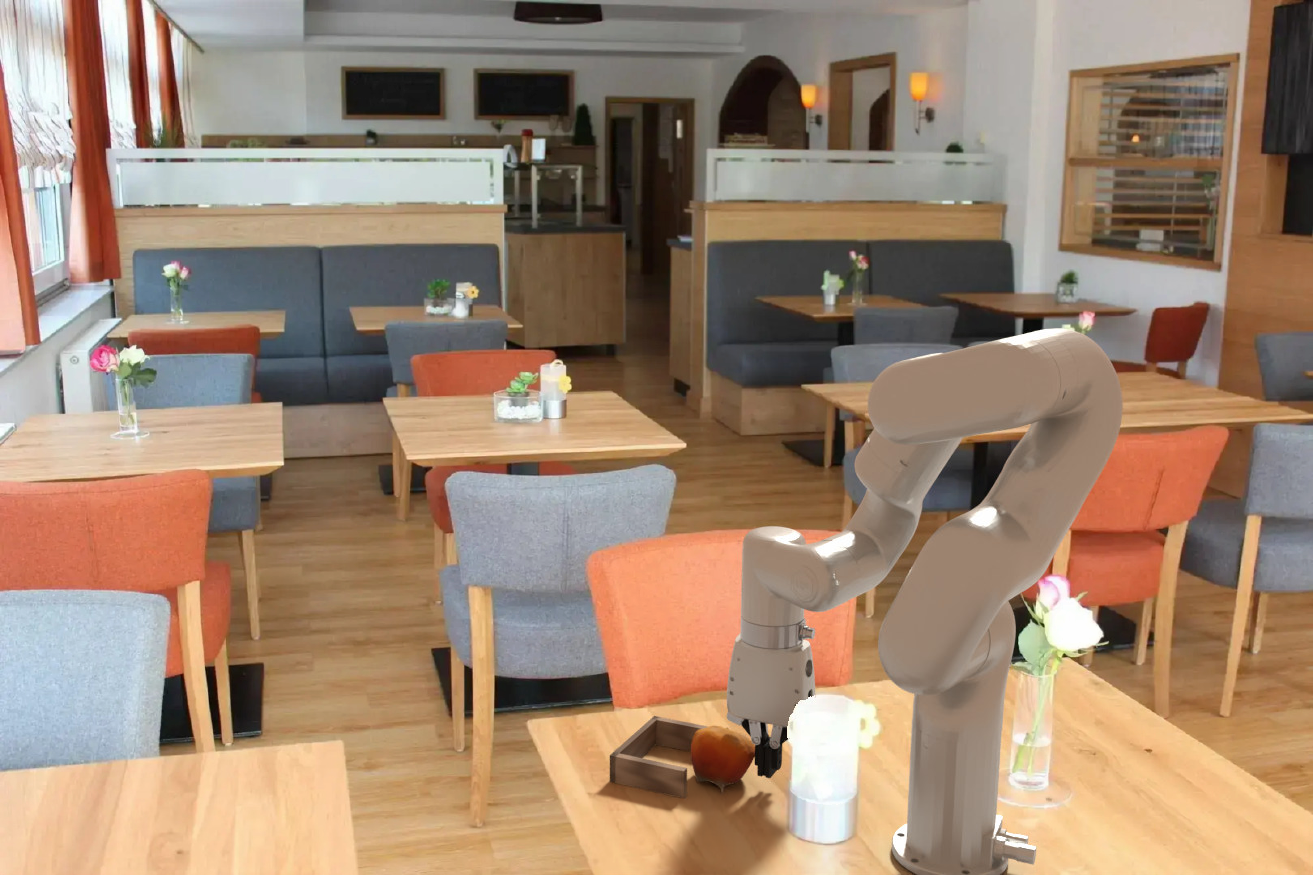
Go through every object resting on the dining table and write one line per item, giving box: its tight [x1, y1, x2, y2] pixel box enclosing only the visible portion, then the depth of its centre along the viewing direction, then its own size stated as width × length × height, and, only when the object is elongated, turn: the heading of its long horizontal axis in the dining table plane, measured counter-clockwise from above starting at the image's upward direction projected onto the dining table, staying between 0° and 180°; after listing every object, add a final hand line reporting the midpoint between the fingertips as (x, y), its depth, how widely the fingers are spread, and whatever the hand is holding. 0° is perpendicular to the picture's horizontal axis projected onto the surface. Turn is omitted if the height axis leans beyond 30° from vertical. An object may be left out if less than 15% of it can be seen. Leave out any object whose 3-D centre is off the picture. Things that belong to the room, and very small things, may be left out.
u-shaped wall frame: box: [609, 715, 709, 799], centre depth 163 cm, size 10×13×4 cm
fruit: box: [690, 725, 755, 794], centre depth 159 cm, size 8×8×8 cm
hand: (767, 772), depth 157 cm, fingers closed
